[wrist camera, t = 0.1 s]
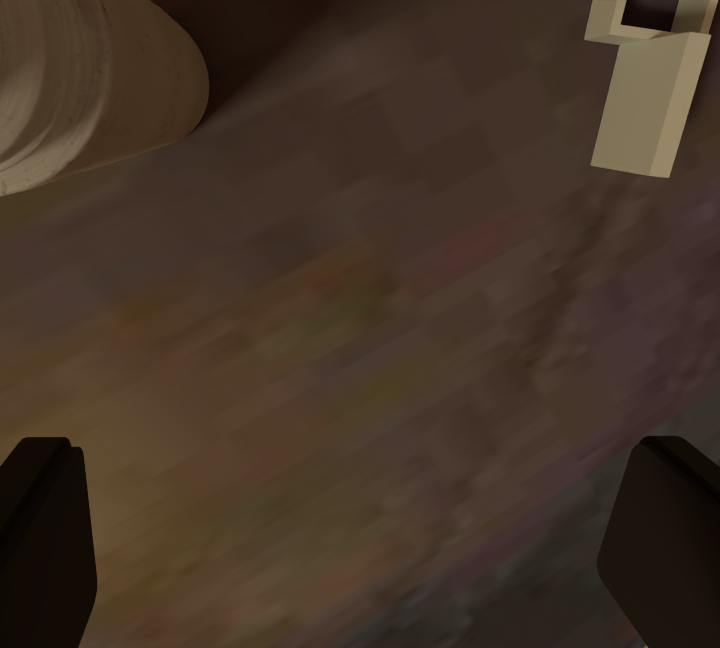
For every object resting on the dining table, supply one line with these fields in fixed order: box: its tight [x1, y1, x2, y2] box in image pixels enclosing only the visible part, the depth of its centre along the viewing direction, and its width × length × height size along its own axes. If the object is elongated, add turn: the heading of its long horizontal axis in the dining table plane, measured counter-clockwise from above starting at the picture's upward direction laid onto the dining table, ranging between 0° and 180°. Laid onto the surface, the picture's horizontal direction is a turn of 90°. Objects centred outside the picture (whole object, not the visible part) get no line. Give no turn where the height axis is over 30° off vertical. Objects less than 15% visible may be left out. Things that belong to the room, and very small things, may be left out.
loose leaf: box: [584, 0, 718, 178], centre depth 34 cm, size 15×7×7 cm, turn 174°
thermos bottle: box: [0, 0, 209, 196], centre depth 21 cm, size 8×8×28 cm
